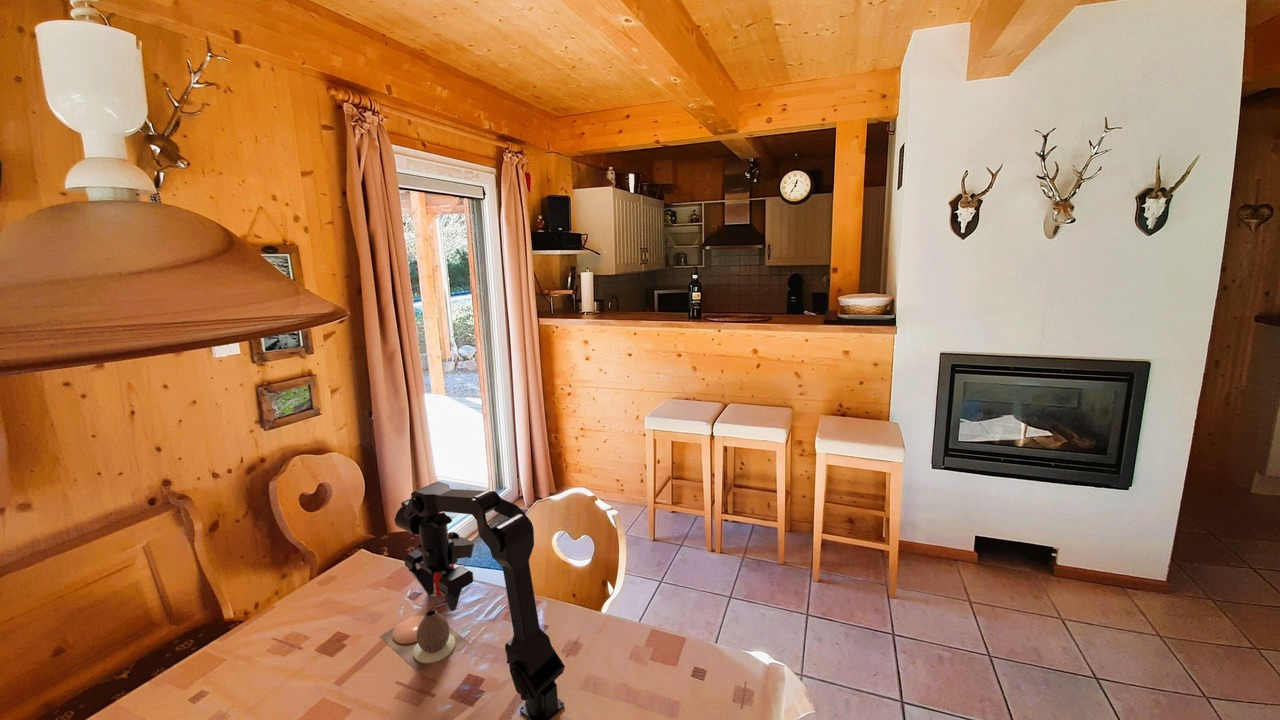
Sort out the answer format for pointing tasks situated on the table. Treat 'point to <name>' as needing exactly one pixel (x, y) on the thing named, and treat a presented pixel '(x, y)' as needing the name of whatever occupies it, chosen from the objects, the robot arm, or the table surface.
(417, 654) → the cream disc
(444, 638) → the vase
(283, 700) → the table surface
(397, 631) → the terracotta disc
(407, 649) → the board
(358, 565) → the table surface
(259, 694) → the table surface
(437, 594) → the soda can
